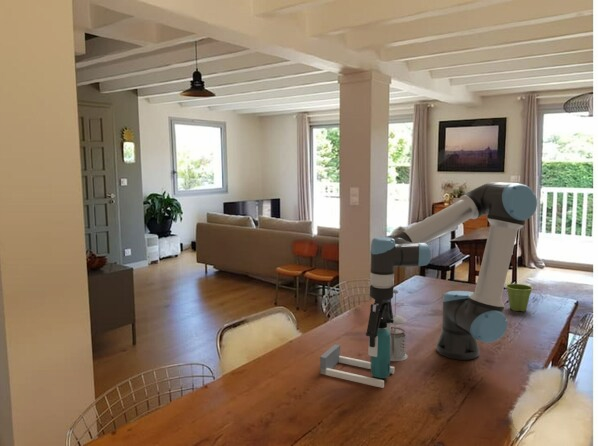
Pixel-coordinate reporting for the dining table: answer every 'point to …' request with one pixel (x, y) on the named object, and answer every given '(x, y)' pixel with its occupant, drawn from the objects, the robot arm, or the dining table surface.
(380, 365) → the beverage bottle
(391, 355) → the french press
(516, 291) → the plant pot
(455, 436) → the dining table surface
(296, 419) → the dining table surface
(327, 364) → the guide track
